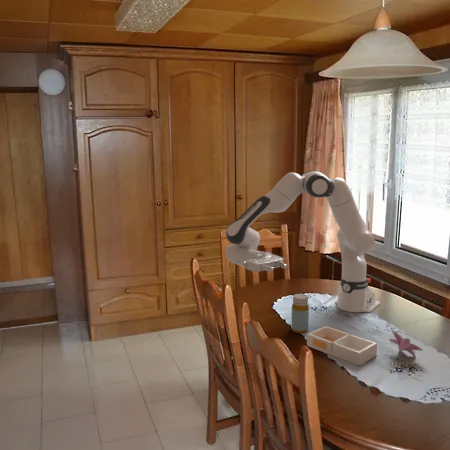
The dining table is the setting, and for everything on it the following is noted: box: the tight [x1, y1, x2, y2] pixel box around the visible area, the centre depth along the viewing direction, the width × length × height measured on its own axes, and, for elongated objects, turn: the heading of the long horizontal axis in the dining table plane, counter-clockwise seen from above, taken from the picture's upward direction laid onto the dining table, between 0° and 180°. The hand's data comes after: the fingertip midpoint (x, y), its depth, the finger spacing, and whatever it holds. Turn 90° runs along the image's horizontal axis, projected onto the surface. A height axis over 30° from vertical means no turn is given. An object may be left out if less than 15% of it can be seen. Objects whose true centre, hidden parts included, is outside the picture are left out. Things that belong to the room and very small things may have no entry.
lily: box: [388, 330, 424, 361], centre depth 174 cm, size 12×12×10 cm
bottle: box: [290, 293, 310, 334], centre depth 199 cm, size 7×7×15 cm
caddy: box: [306, 325, 378, 366], centre depth 180 cm, size 12×23×5 cm, turn 43°
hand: (279, 268), depth 204 cm, fingers open, 8 cm apart
